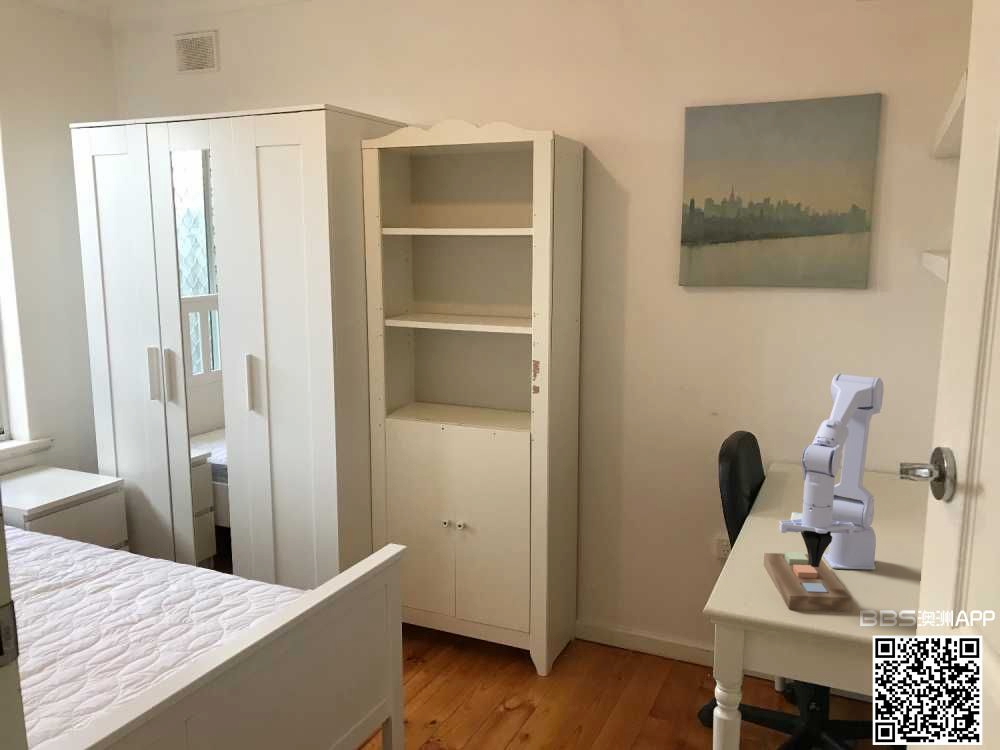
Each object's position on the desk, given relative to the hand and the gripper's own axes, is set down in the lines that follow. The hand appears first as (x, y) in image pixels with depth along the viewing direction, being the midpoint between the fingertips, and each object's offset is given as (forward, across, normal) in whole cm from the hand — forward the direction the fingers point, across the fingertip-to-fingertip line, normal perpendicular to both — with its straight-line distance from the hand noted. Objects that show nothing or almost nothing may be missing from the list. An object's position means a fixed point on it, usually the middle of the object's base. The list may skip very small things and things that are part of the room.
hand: (813, 565), depth 168 cm
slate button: (+6, 0, -2) cm, 7 cm away
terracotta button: (+6, 0, +5) cm, 8 cm away
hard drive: (+8, +11, +43) cm, 46 cm away
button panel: (+7, 0, +5) cm, 9 cm away
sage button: (+5, 0, +12) cm, 13 cm away
